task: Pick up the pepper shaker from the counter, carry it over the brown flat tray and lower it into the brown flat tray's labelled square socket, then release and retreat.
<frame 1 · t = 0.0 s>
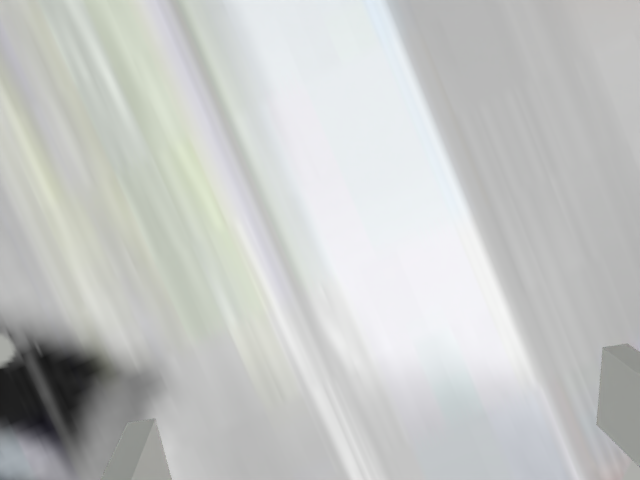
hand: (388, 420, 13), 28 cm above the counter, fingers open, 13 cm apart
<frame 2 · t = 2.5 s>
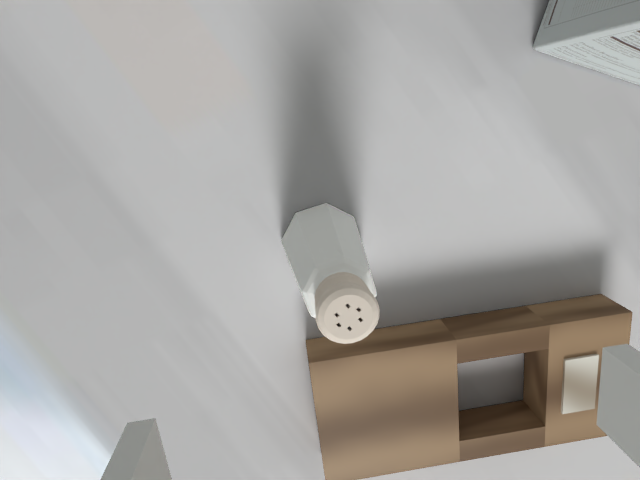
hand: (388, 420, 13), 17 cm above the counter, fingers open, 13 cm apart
brown flat tray: (458, 375, 34), on the counter
pepper shaker: (321, 241, 30), on the counter
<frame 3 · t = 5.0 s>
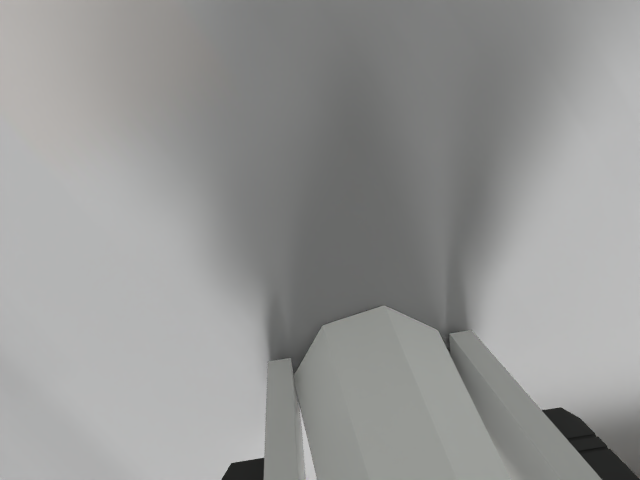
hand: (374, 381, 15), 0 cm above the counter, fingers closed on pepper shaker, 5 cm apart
pepper shaker: (371, 372, 15), on the counter, touching gripper
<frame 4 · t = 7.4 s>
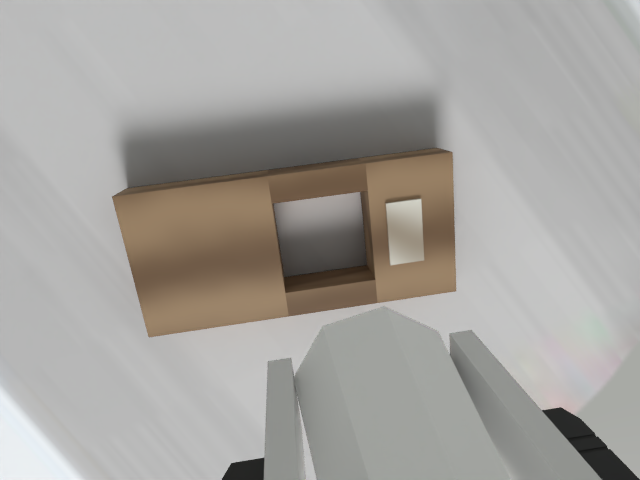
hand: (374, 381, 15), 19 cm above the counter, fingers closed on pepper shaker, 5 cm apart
brown flat tray: (294, 234, 33), on the counter
pepper shaker: (371, 373, 15), point 19 cm above the counter, touching gripper
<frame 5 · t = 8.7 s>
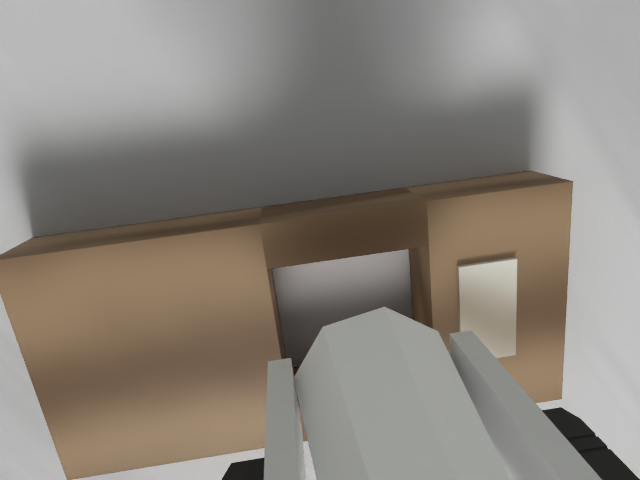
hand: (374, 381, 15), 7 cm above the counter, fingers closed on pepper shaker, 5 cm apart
brown flat tray: (303, 306, 21), on the counter
pepper shaker: (371, 374, 15), point 6 cm above the counter, touching gripper
when the fingers open (4 cm above the counter, at t = 9.9 s): pepper shaker drops 3 cm, resting in brown flat tray.
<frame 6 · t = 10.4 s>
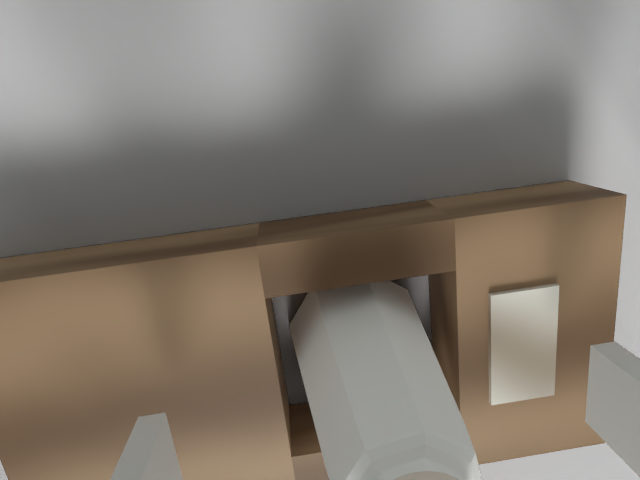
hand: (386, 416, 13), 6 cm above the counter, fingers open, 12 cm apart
brown flat tray: (307, 335, 18), on the counter
pepper shaker: (353, 325, 19), resting in brown flat tray
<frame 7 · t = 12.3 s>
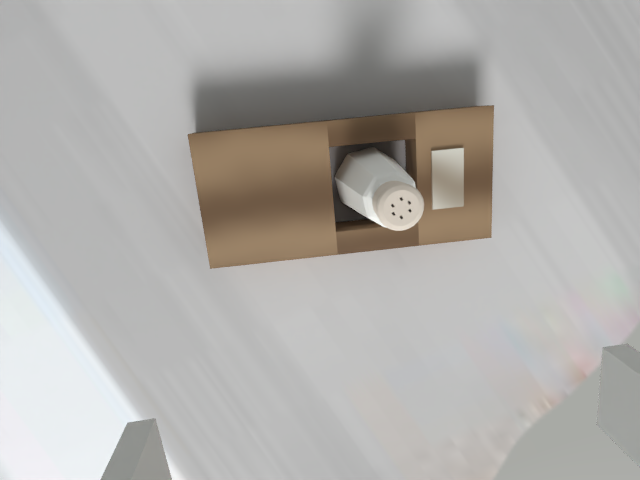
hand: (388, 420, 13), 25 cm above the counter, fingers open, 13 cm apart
brown flat tray: (343, 183, 36), on the counter
pepper shaker: (366, 180, 36), resting in brown flat tray
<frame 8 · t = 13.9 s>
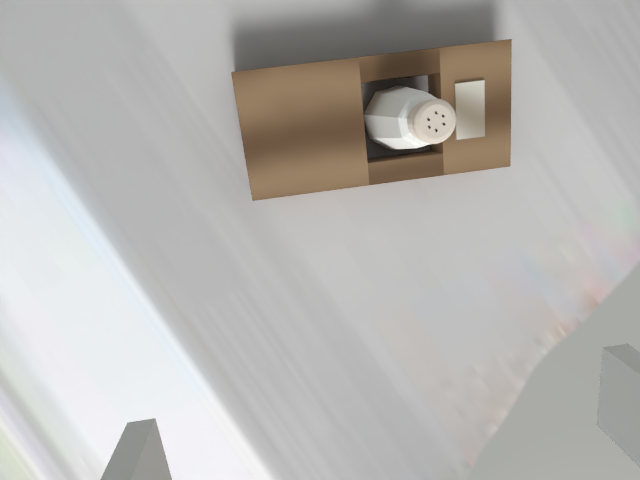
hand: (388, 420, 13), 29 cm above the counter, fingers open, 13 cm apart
brown flat tray: (371, 120, 39), on the counter
pepper shaker: (392, 117, 39), resting in brown flat tray
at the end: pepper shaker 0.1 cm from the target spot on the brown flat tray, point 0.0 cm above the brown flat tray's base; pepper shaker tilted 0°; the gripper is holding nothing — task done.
